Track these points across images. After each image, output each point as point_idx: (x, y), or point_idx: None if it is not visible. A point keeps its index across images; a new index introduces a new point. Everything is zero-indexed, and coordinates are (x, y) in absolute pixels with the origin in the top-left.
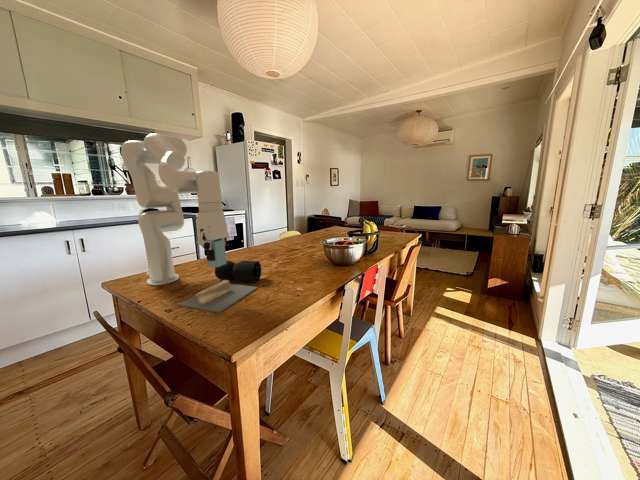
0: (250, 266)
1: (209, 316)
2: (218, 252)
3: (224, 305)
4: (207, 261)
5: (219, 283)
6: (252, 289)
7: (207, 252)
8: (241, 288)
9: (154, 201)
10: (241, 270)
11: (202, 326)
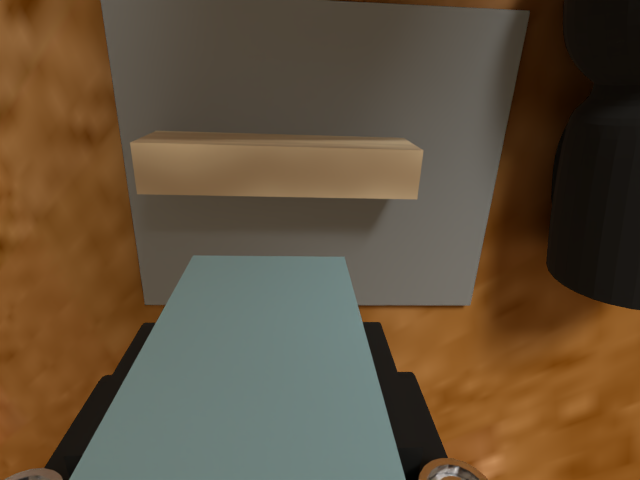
0: (630, 281)
1: (102, 279)
2: None
3: None
4: (177, 288)
5: (348, 166)
6: (433, 298)
7: (65, 467)
8: (437, 231)
9: None
10: (597, 201)
11: (23, 313)
